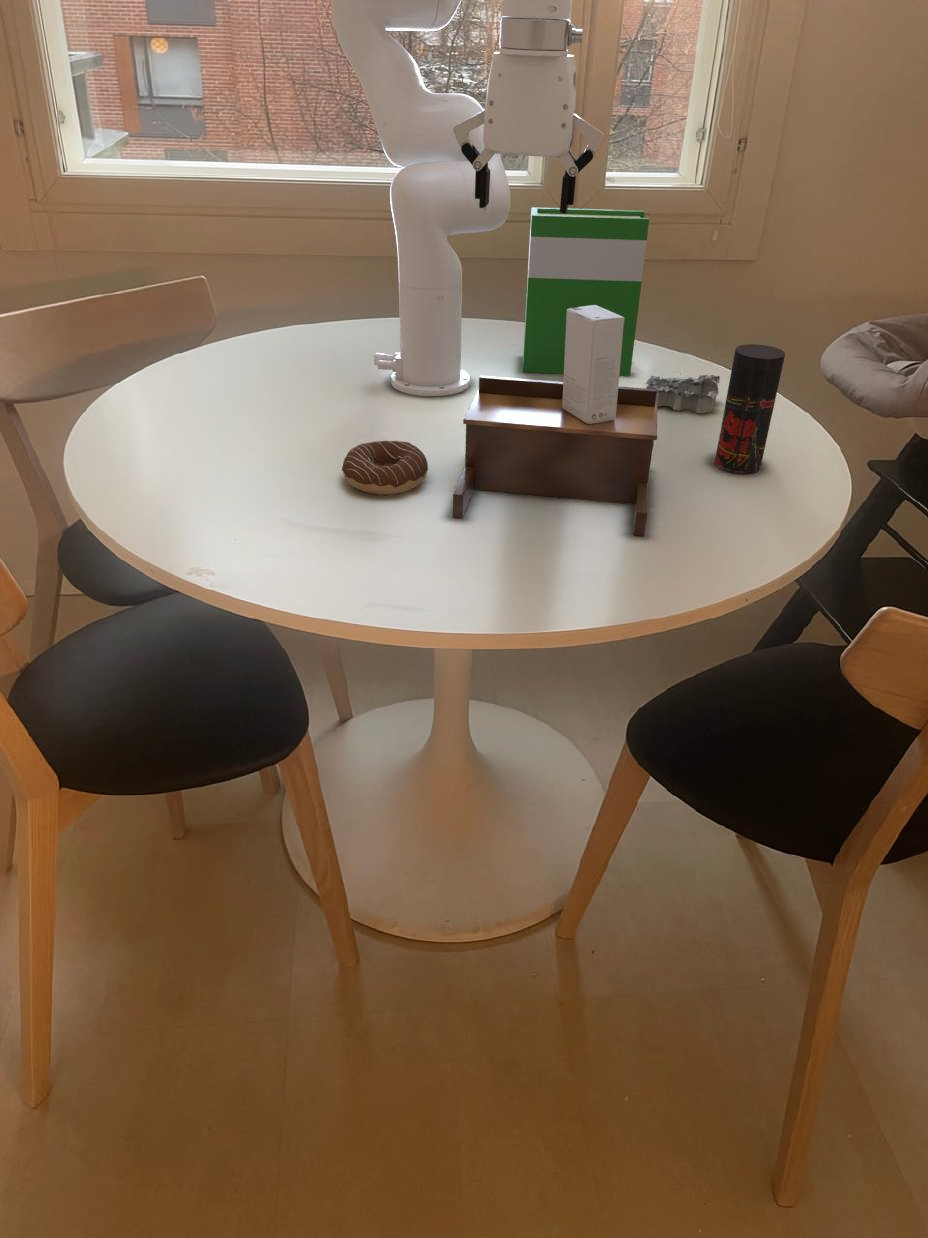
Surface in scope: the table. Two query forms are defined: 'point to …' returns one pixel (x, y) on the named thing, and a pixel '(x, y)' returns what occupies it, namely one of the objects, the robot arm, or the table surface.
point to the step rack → (557, 446)
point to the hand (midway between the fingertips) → (523, 208)
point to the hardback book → (581, 277)
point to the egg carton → (686, 392)
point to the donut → (385, 467)
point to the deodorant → (749, 408)
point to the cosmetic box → (592, 363)
